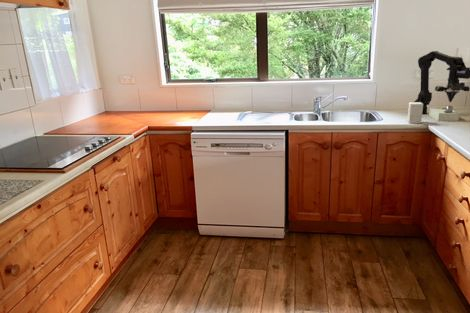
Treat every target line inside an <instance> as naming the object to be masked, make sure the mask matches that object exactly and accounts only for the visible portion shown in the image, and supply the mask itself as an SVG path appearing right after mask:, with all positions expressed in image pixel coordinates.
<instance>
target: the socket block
mask: <svg viewBox="0 0 470 313" xmlns="http://www.w3.org/2000/svg"><path fill="white" fill-rule="evenodd" d="M439 108H440V107H429V108H428V109H429V110H428V116H430V117H431V118H433V119H434V118H435V119H434V120H436V121H437V120H438V121H437V122H459V117H460V113H459V112H457V111H455V110H454V109H453V110H452V113H445V110H440V109H439Z"/></svg>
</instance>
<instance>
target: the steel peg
mask: <svg viewBox="0 0 470 313" xmlns="http://www.w3.org/2000/svg"><path fill="white" fill-rule="evenodd" d="M445 108H446V110H445V113H452V110H454V109H453V108H454V106H453V105H445Z"/></svg>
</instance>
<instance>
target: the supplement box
mask: <svg viewBox="0 0 470 313" xmlns="http://www.w3.org/2000/svg"><path fill="white" fill-rule="evenodd" d="M422 111H423V104H422V103H421V102H415V101H413V102H411V101H410V102H408V110H407V119H406V122H407V123H408V124H422V118H423V114H422Z"/></svg>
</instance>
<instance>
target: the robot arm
mask: <svg viewBox="0 0 470 313" xmlns="http://www.w3.org/2000/svg"><path fill="white" fill-rule="evenodd" d="M435 60H438V61H440V62H444V63H446V65H447V66H448V68H446V71H448V72H449V73H448V77H447V85H446V86H443V85H437V86H435V88H434V92H435V91H436V92H444V93H446V96H447V98H448V103H452V101H453V100H454V98H455V96H457V94H458V93H460V91H463V92H470V86H469V85H465V84H466V83H465V82H460V79H465V80H467V79H470V67H467V66H466V64H465V62H464V59H463V57H461V56H452V55H451V56H450V55H448V54H445V53H443V52H439V51H438V50H435V51H433V50H432V51H430V52H428V53H427V54H424V55H422V56H420V57H419V58H418V61H417V64H418V68H419V69H420V91H419V93H418V94H417V98H416V100H414V102H421V103H422V104H423V111H422V115H427V113H428V105H430V103H431V101H432V99H433V92H431V91H430V90H429V89H430V88H429V80H430V68H431V66H432V65H433V64H432V63H433V62H434V61H435Z"/></svg>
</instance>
